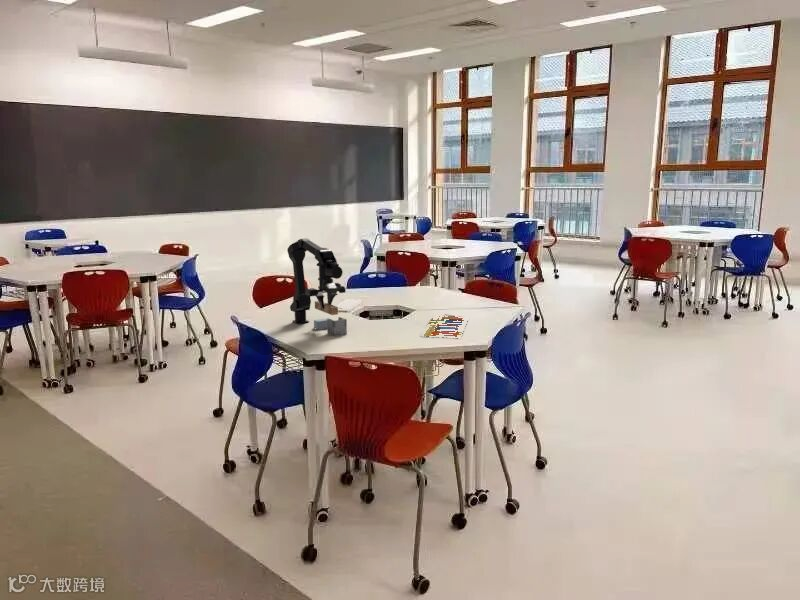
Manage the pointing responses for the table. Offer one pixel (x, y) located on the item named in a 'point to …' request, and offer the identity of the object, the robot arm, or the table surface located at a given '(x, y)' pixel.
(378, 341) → the table surface
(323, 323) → the support post
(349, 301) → the baseboard
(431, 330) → the multicolored flat board
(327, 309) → the rail
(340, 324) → the cup bracket
